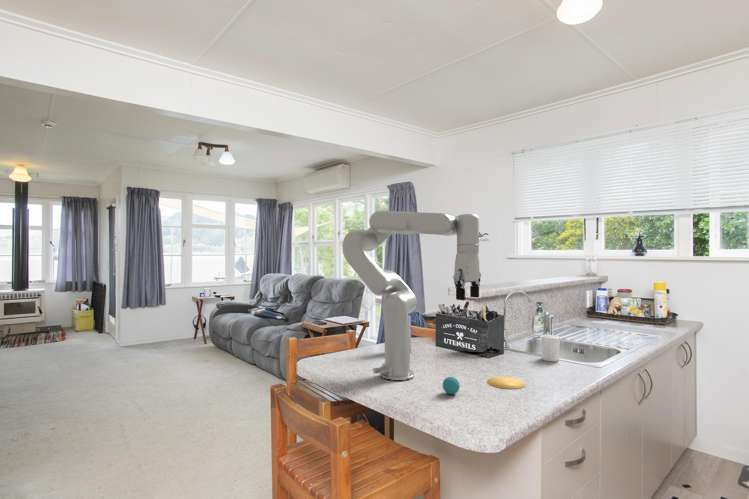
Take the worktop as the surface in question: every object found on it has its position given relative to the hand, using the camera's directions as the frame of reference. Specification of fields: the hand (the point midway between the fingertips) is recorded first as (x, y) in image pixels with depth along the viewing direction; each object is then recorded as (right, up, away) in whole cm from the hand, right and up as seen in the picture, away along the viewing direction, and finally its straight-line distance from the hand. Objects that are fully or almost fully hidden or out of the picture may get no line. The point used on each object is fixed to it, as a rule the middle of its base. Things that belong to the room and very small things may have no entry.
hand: (467, 298), depth 145 cm
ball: (-7, -28, -8) cm, 30 cm away
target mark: (+14, -30, +2) cm, 33 cm away
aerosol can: (-20, -31, +47) cm, 59 cm away
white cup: (+43, -30, +34) cm, 63 cm away
